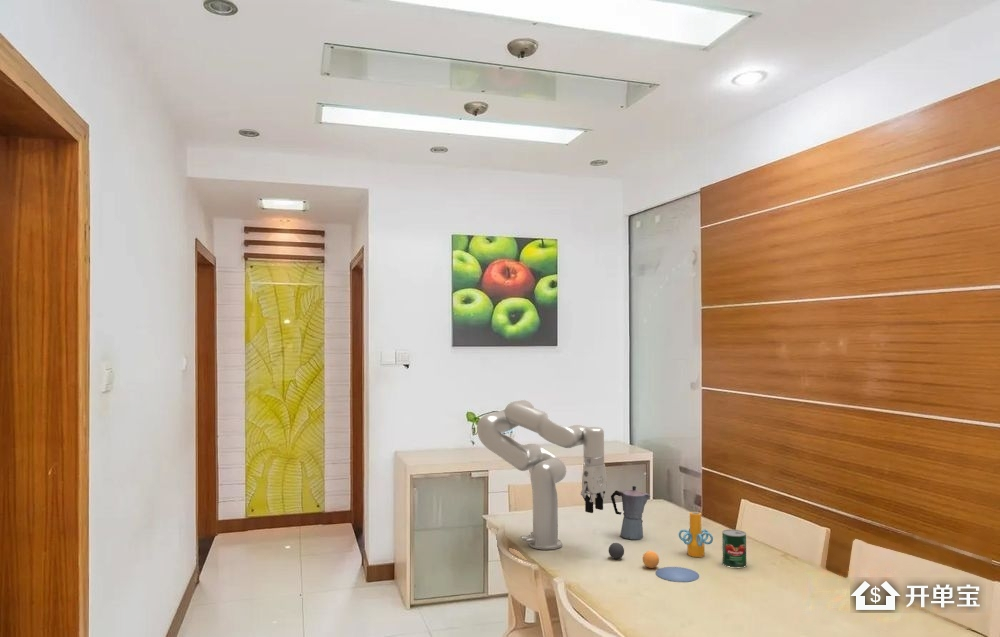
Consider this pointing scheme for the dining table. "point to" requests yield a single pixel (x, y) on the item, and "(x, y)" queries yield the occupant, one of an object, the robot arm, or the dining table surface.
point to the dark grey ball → (616, 550)
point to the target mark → (677, 574)
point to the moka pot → (631, 512)
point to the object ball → (650, 559)
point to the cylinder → (695, 536)
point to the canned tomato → (734, 548)
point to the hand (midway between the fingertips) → (594, 510)
